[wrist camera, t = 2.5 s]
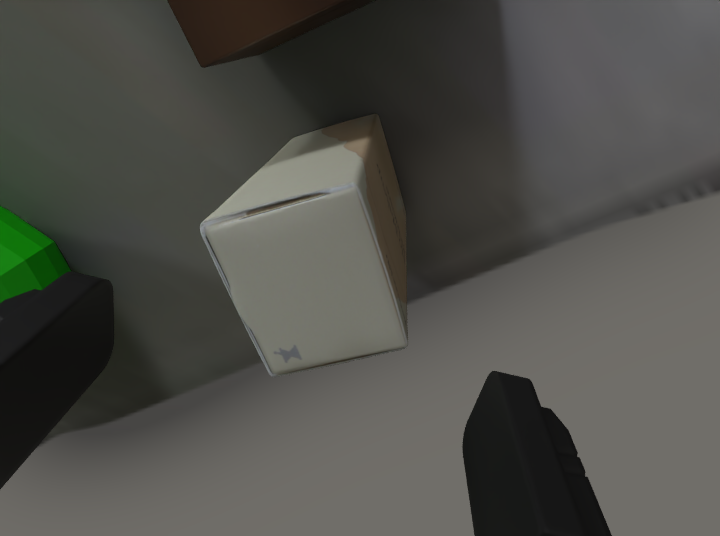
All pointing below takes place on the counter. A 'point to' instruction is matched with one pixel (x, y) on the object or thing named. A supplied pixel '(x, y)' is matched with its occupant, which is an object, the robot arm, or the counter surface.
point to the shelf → (251, 24)
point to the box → (317, 250)
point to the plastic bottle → (26, 257)
